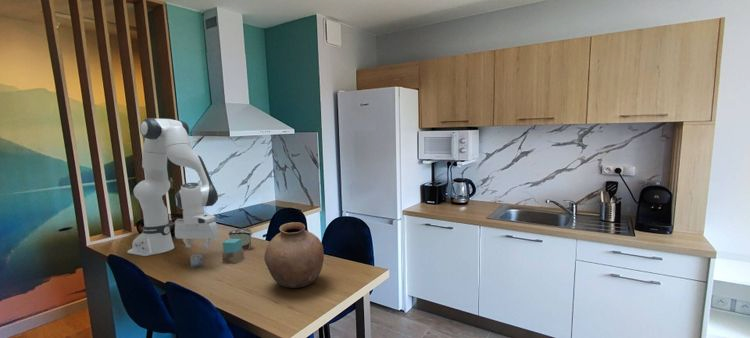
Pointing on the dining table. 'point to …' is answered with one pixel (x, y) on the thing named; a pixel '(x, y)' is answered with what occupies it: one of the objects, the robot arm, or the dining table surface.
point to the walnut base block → (233, 257)
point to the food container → (242, 237)
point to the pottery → (294, 256)
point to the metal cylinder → (196, 261)
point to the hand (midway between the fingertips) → (198, 247)
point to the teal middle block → (232, 246)
